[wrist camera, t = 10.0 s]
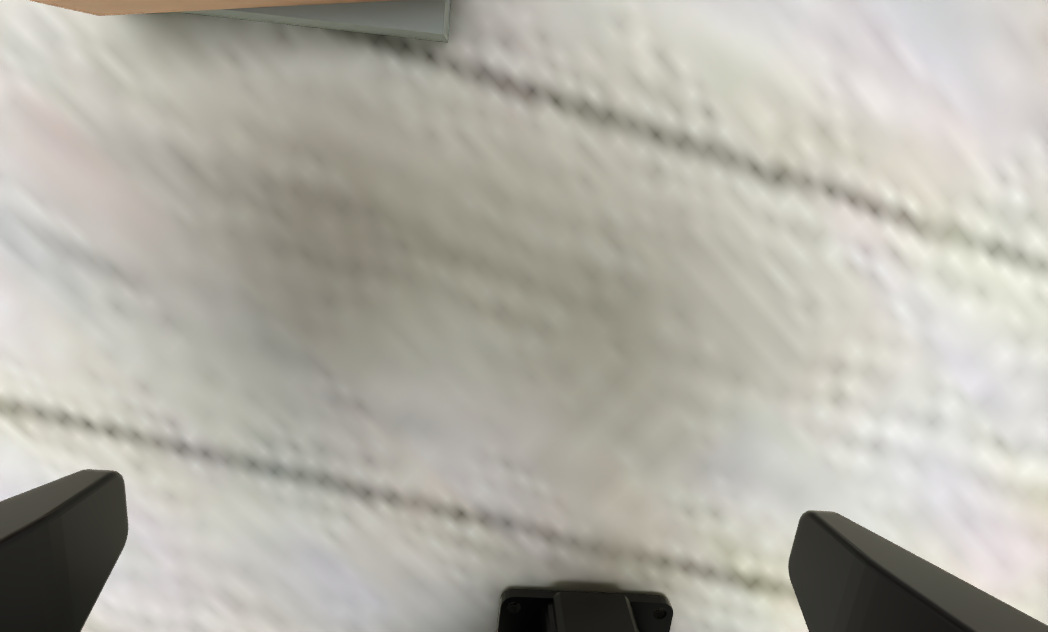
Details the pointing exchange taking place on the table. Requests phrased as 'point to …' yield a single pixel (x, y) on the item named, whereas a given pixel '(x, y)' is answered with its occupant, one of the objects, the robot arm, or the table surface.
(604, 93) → the table surface
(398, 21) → the tower base slab
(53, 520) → the robot arm
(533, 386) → the table surface
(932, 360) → the table surface
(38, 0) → the tower top slab
